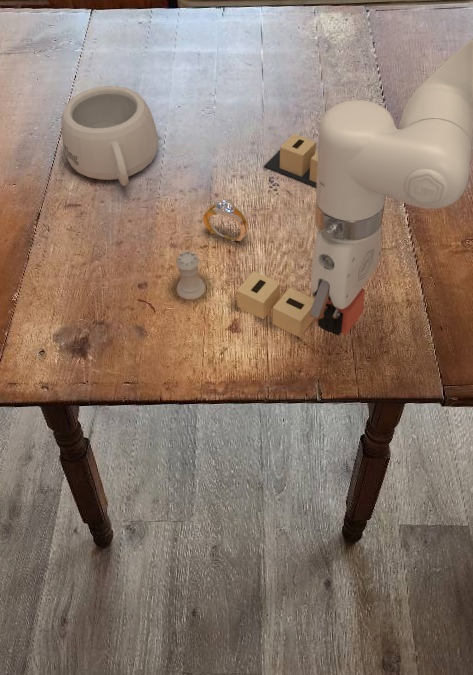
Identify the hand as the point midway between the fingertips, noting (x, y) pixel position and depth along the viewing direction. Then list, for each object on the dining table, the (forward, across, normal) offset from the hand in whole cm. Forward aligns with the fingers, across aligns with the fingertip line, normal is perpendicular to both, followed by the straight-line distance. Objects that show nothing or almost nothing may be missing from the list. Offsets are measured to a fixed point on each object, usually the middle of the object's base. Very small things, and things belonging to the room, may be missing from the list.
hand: (339, 315), depth 90 cm
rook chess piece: (+6, -3, +23) cm, 24 cm away
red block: (0, 0, 0) cm, 0 cm away
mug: (+5, +15, +53) cm, 55 cm away
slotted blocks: (+6, 0, +8) cm, 10 cm away
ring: (+6, +9, +25) cm, 27 cm away
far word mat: (+6, +31, +20) cm, 37 cm away
